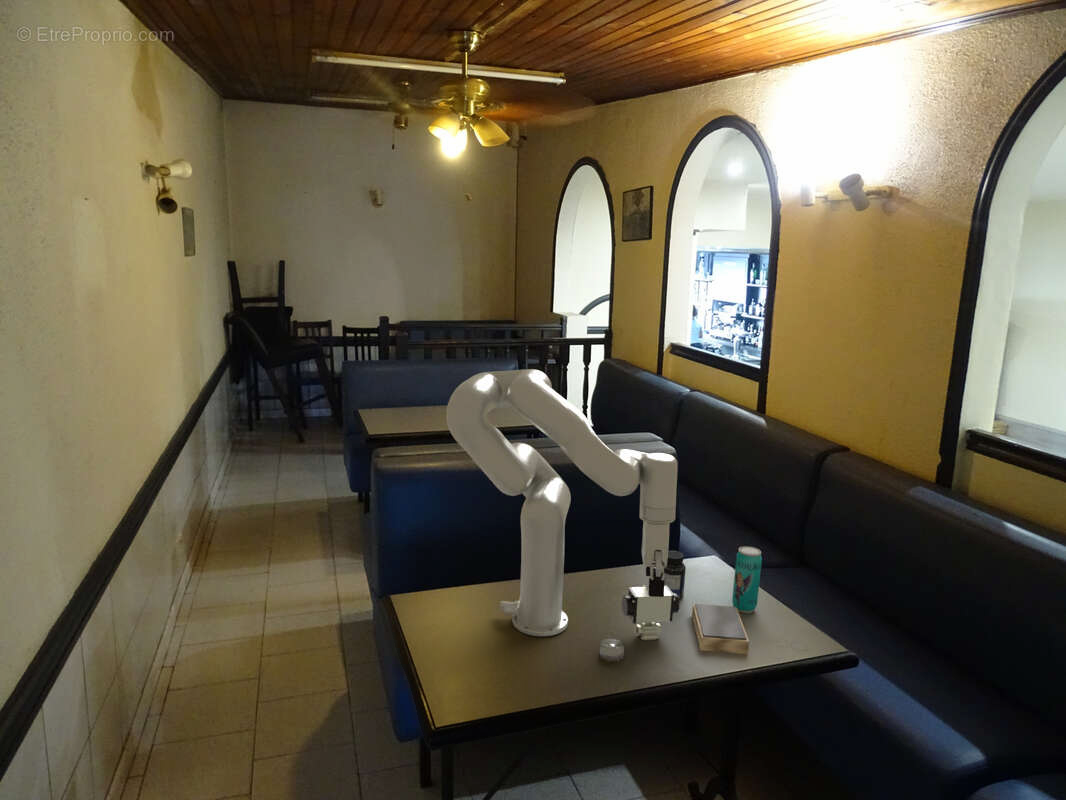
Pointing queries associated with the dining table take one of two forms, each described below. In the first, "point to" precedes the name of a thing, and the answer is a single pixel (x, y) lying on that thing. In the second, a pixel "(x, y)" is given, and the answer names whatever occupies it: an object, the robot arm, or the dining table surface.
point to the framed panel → (719, 629)
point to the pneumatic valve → (649, 610)
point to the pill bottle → (675, 573)
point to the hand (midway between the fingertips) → (654, 585)
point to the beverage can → (747, 579)
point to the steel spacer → (611, 649)
